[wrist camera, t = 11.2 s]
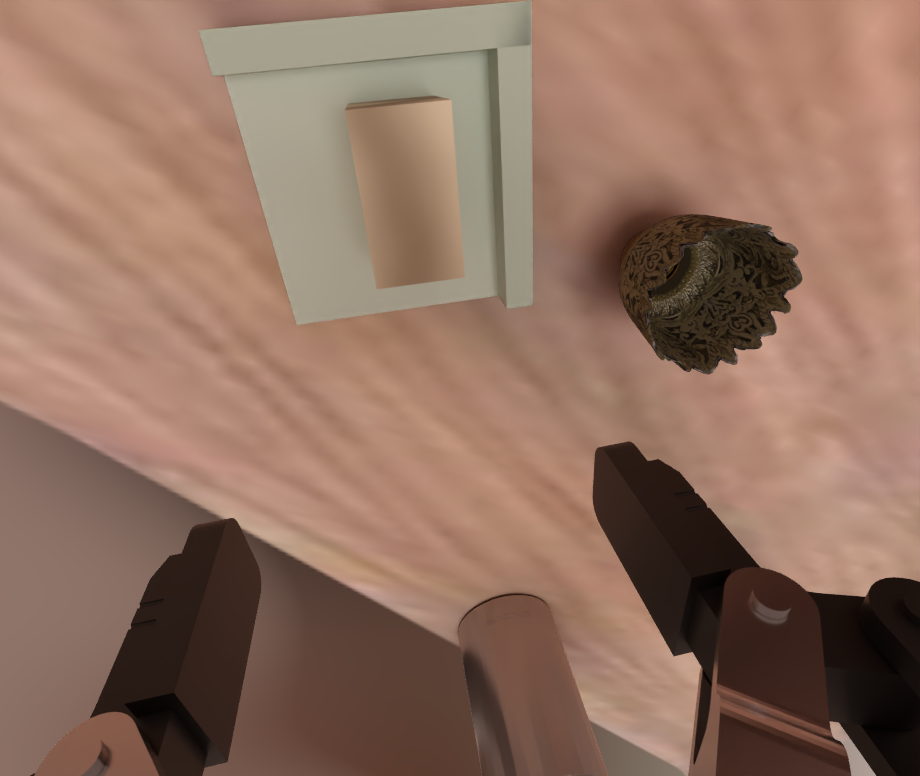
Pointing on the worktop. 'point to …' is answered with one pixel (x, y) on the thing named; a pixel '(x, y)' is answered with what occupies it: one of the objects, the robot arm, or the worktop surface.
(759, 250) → the cup
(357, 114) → the maple brick
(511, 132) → the corner tray
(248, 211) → the worktop surface
